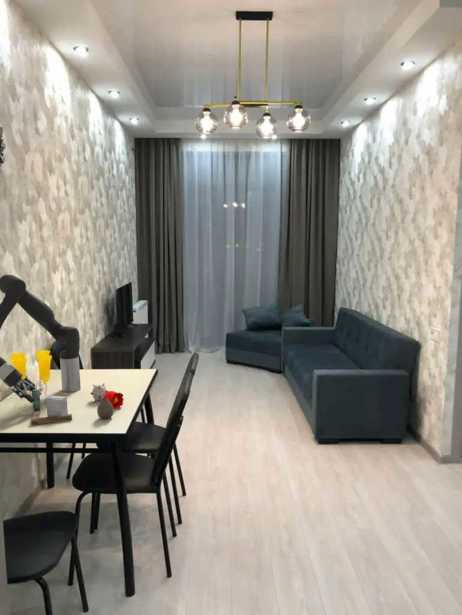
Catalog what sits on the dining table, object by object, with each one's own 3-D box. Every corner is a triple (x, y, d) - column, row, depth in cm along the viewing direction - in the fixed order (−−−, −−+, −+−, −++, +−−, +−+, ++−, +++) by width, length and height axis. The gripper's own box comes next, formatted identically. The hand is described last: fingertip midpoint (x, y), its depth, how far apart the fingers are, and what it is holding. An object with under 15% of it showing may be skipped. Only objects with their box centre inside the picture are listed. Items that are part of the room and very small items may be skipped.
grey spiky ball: (102, 408, 242) (102, 396, 235) (86, 402, 243) (86, 389, 236) (111, 395, 248) (112, 383, 241) (96, 388, 249) (96, 376, 243)
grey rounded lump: (99, 415, 222) (98, 396, 220) (115, 415, 222) (113, 395, 221) (96, 421, 215) (95, 401, 214) (112, 420, 215) (111, 400, 214)
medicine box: (68, 415, 223) (67, 396, 222) (62, 419, 219) (60, 399, 217) (53, 413, 225) (52, 395, 224) (47, 417, 221) (45, 398, 220)
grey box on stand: (33, 410, 229) (32, 389, 228) (71, 406, 234) (70, 385, 233) (30, 424, 212) (29, 401, 210) (72, 419, 217) (70, 397, 215)
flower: (114, 391, 239) (126, 393, 234) (110, 408, 237) (122, 410, 233) (102, 388, 233) (114, 391, 228) (97, 405, 231) (109, 408, 226)
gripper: (8, 372, 217) (36, 397, 220) (20, 364, 232) (47, 387, 234) (-4, 385, 218) (25, 409, 220) (9, 376, 232) (36, 399, 234)
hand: (36, 398), depth 227 cm, fingers open, 8 cm apart
